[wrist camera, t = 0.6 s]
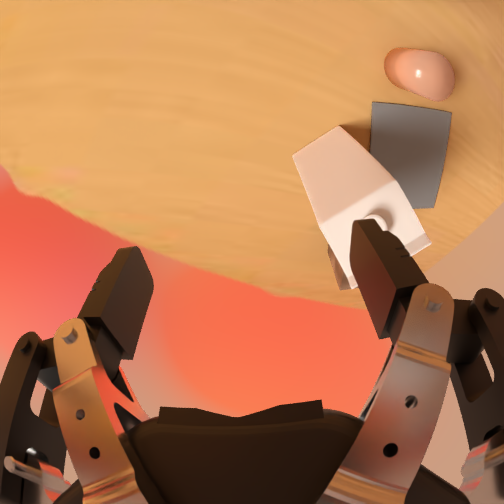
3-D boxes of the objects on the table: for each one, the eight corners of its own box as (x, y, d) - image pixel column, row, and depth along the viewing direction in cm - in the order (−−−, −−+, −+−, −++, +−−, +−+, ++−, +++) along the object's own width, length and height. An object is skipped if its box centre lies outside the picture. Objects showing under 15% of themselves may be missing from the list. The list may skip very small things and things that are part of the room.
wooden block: (329, 226, 39) (344, 264, 33) (361, 224, 39) (379, 260, 33) (327, 252, 42) (339, 290, 36) (356, 249, 42) (372, 285, 36)
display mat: (372, 101, 27) (373, 102, 26) (450, 112, 26) (451, 112, 26) (363, 210, 37) (363, 211, 37) (432, 206, 36) (433, 207, 36)
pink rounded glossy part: (383, 44, 22) (414, 46, 16) (421, 52, 21) (455, 58, 16) (384, 86, 25) (414, 97, 20) (420, 91, 25) (453, 104, 20)
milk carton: (364, 167, 33) (438, 269, 18) (320, 194, 36) (366, 309, 21) (338, 124, 29) (421, 208, 15) (291, 154, 32) (330, 262, 18)
